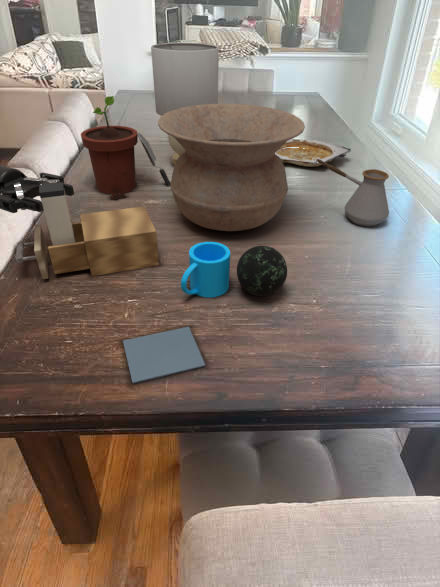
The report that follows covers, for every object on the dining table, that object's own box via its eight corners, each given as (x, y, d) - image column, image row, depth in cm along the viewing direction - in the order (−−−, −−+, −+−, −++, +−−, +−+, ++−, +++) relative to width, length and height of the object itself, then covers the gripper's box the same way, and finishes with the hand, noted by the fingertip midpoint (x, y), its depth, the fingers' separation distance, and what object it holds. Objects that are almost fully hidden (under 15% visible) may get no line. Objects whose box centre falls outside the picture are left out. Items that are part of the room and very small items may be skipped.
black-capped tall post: (57, 263, 88) (38, 192, 79) (56, 253, 91) (38, 184, 82) (78, 259, 90) (63, 189, 80) (77, 250, 93) (62, 182, 83)
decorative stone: (281, 277, 89) (287, 237, 83) (286, 307, 81) (293, 264, 75) (235, 276, 89) (237, 235, 83) (235, 305, 81) (238, 262, 75)
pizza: (344, 176, 137) (351, 153, 154) (346, 164, 134) (353, 142, 151) (251, 165, 146) (268, 145, 163) (251, 153, 143) (268, 134, 160)
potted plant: (115, 172, 136) (104, 89, 121) (171, 184, 129) (166, 97, 114) (78, 191, 123) (60, 100, 108) (138, 206, 116) (127, 111, 101)
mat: (132, 384, 65) (132, 382, 65) (123, 342, 72) (122, 340, 72) (205, 366, 68) (205, 364, 68) (189, 328, 76) (188, 326, 75)
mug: (208, 270, 91) (208, 237, 86) (236, 284, 87) (238, 251, 82) (168, 294, 84) (165, 260, 79) (197, 311, 79) (196, 276, 74)
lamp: (147, 166, 141) (136, 46, 120) (181, 150, 155) (177, 40, 134) (195, 178, 133) (193, 52, 112) (227, 161, 147) (231, 46, 125)
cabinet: (91, 276, 88) (84, 241, 83) (86, 247, 98) (79, 214, 92) (158, 265, 92) (156, 231, 87) (147, 238, 102) (144, 206, 96)
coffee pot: (385, 213, 115) (400, 160, 106) (386, 232, 106) (403, 176, 97) (308, 203, 120) (316, 151, 111) (303, 220, 111) (312, 165, 102)
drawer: (20, 282, 84) (11, 254, 80) (22, 254, 93) (13, 227, 89) (108, 268, 89) (104, 241, 85) (102, 243, 98) (98, 216, 94)
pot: (170, 191, 125) (165, 102, 110) (282, 193, 125) (293, 104, 110) (157, 249, 97) (148, 141, 82) (301, 251, 98) (318, 144, 83)
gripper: (29, 188, 95) (85, 202, 89) (-25, 212, 84) (34, 230, 79) (20, 155, 90) (78, 168, 85) (-38, 177, 80) (24, 193, 74)
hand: (57, 198), depth 82 cm, fingers open, 8 cm apart
